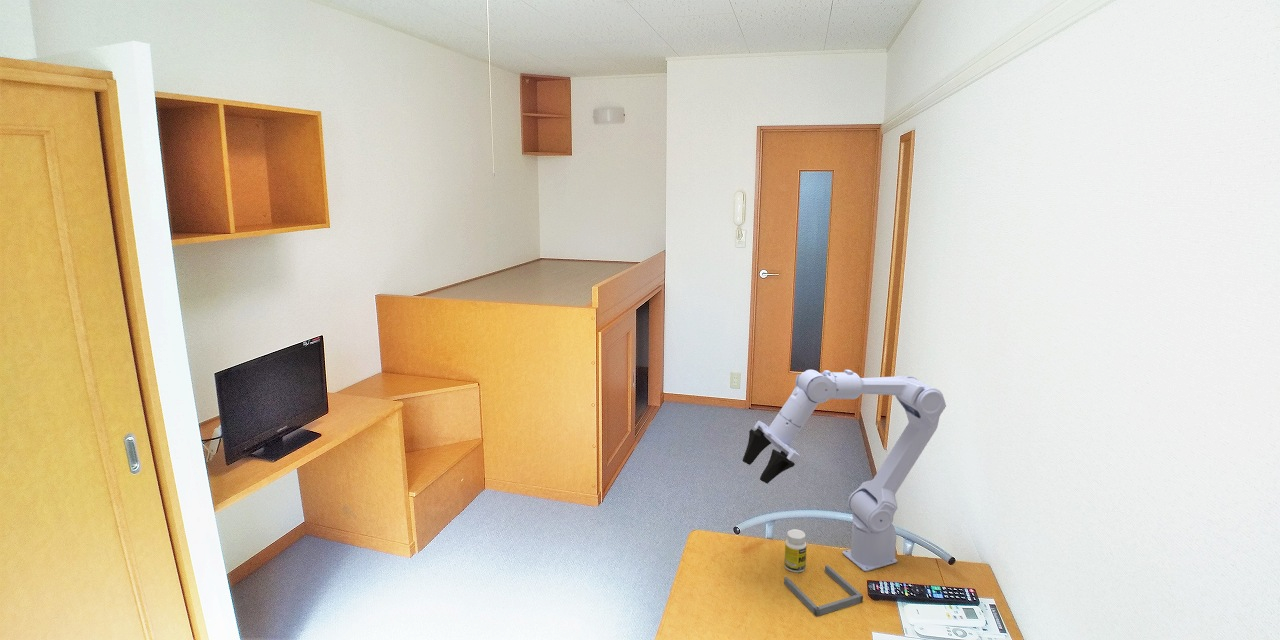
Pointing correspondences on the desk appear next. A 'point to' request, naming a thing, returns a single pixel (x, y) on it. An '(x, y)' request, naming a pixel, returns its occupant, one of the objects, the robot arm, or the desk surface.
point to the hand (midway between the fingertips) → (754, 471)
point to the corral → (832, 606)
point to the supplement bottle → (795, 551)
